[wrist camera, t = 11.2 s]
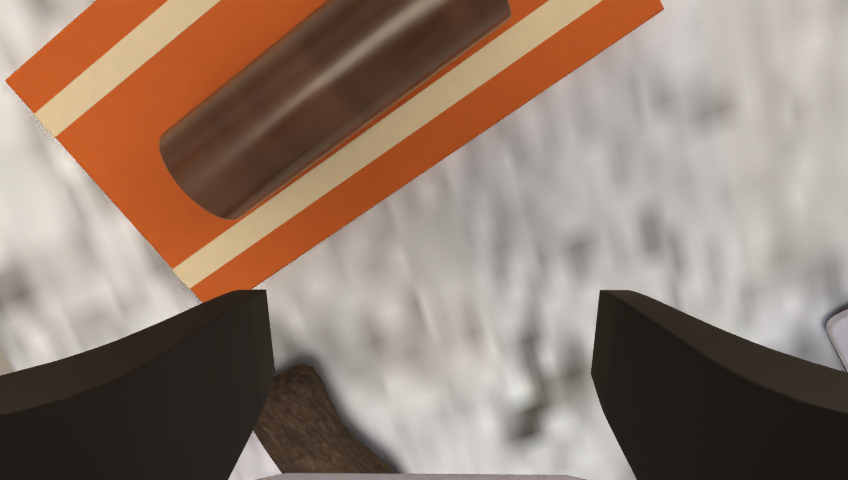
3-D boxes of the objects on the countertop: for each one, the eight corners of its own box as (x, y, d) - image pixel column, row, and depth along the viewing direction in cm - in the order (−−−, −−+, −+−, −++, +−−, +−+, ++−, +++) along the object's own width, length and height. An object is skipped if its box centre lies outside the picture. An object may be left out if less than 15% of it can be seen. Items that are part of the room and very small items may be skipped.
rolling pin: (450, -62, 17) (437, -120, 14) (511, 30, 18) (513, -4, 14) (202, 134, 20) (136, 127, 16) (258, 216, 20) (205, 226, 16)
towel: (484, -334, 15) (486, -344, 15) (659, 9, 18) (665, 8, 18) (12, 80, 19) (3, 80, 19) (216, 310, 22) (212, 315, 21)
